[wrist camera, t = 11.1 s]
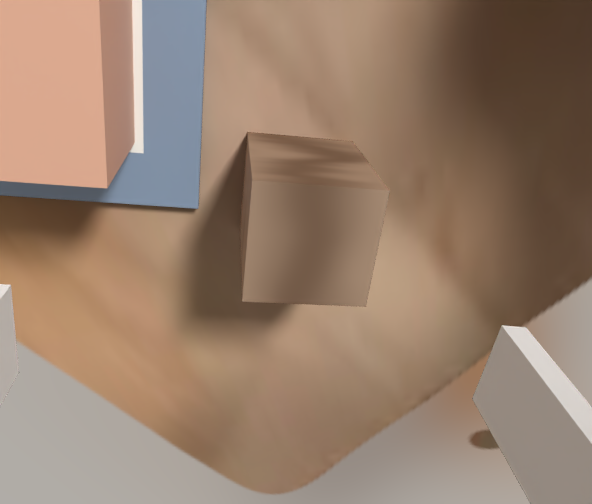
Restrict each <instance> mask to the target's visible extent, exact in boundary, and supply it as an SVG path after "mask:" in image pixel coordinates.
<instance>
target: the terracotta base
mask: <svg viewBox="0 0 592 504" xmlns="http://www.w3.org/2000/svg"><path fill="white" fill-rule="evenodd" d="M134 143H135V128H134V74H133V20H132V0H0V181H9V182H23V183H37V184H51V185H65V186H79V187H94V188H108V187H109V185H110V183H111V182H112V180H113V178H114V177H115V175H116V173H117V172H118V170H119V168H120V167H121V165H122V163H123V162H124V160H125V158H126V157H127V155H128V153H129V152H130V150H131V148H132V147H133V145H134Z"/></svg>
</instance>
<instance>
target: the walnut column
mask: <svg viewBox="0 0 592 504" xmlns="http://www.w3.org/2000/svg"><path fill="white" fill-rule="evenodd" d="M389 193H390V190H389V189H388V187H387V186H386V185H385V184H384V182H383V181H382V180H381V178H380V177H379V176H378V174H377V173H376V172H375V170H374V169H373V168H372V166H371V165H370V164H369V162H368V161H367V160H366V158H365V157H364V156H363V154H362V153H361V152H360V150H359V149H358V148H357V146H356V145H355V144H354V142H353V141H343V140H331V139H320V138H309V137H298V136H286V135H275V134H264V133H252V132H247V145H246V158H245V171H244V184H243V197H242V211H241V224H240V247H241V280H242V302H264V303H288V304H313V305H337V306H361V307H366V303H367V299H368V294H369V289H370V284H371V279H372V275H373V270H374V265H375V260H376V255H377V251H378V246H379V241H380V236H381V231H382V226H383V222H384V217H385V212H386V207H387V202H388V198H389Z"/></svg>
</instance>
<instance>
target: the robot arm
mask: <svg viewBox="0 0 592 504" xmlns="http://www.w3.org/2000/svg"><path fill="white" fill-rule="evenodd" d="M16 346H17V345H16V335H15V324H14V313H13V303H12V292H11V285H4V284H0V406H1V404H2V402H3V401H4V399H5V397H6V395H7V393H8V391H9V390H10V388H11V386H12V384H13V382H14V381H15V379H16V377H17V375H18V374H19V368H18V356H17V347H16ZM472 399H473V401H474V403H475V405H476V407H477V408H478V410H479V412H480V414H481V416H482V417H483V419H484V421H485V423H486V425H487V426H488V428H489V430H490V432H491V434H492V435H493V437H494V439H495V441H496V443H497V444H498V446H499V448H500V450H501V452H502V453H503V455H504V457H505V459H506V460H507V462H508V464H509V466H510V468H511V469H512V471H513V473H514V475H515V477H516V478H517V480H518V482H519V484H520V486H521V487H522V489H523V491H524V492H525V494H526V496H527V498H528V500H529V501H530V504H592V407H591V405H590V404H589V403H588V402H587V400H586V399H585V398H584V397H583V396H582V394H581V393H580V392H579V391H578V390H577V388H576V387H575V386H574V385H573V383H572V382H571V381H570V380H569V379H568V377H567V376H566V375H565V374H564V373H563V371H562V370H561V369H560V368H559V367H558V365H557V364H556V363H555V362H554V360H553V359H552V358H551V357H550V356H549V354H548V353H547V352H546V351H545V350H544V348H543V347H542V346H541V345H540V344H539V342H538V341H537V340H536V339H535V337H534V336H533V335H532V334H531V333H530V332H529V330H528V329H527V328H526V327H515V326H503V325H502V326H501V328H500V331H499V333H498V336H497V338H496V341H495V343H494V346H493V348H492V351H491V353H490V356H489V358H488V361H487V363H486V366H485V369H484V370H483V373H482V375H481V378H480V380H479V383H478V385H477V388H476V391H475V393H474V395H473V398H472Z"/></svg>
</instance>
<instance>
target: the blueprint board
mask: <svg viewBox="0 0 592 504" xmlns="http://www.w3.org/2000/svg"><path fill="white" fill-rule="evenodd" d="M206 4H207V0H132V20H133V74H134V128H135V143H134V145H133V147H132V148H131V150H130V152H129V153H128V155H127V157H126V158H125V160H124V162H123V163H122V165H121V167H120V168H119V170H118V172H117V173H116V175H115V177H114V178H113V180H112V182H111V183H110V185H109V187H108V188H94V187H79V186H65V185H51V184H37V183H23V182H9V181H0V195H4V196H18V197H33V198H48V199H63V200H77V201H92V202H107V203H122V204H136V205H151V206H166V207H181V208H196V209H198V206H199V184H200V158H201V133H202V107H203V81H204V55H205V30H206Z"/></svg>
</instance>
